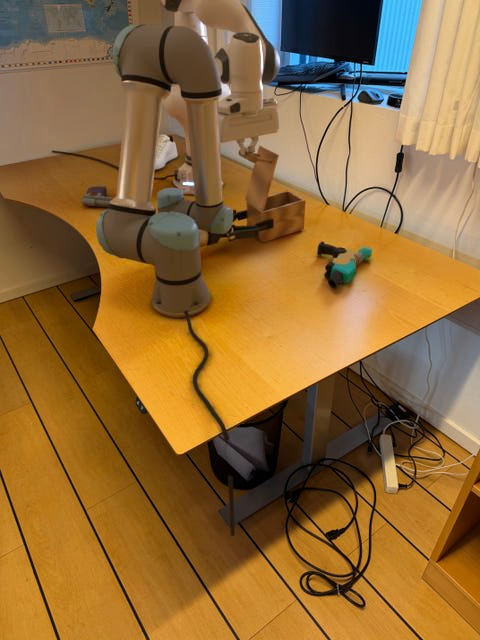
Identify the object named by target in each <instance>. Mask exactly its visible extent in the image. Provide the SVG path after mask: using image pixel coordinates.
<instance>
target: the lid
mask: <svg viewBox="0 0 480 640" xmlns="http://www.w3.org/2000/svg"><path fill="white" fill-rule="evenodd" d="M238 155H239V156H240V157H241V158H242V159H245V160H247V161H248V162H250V163H253V169H252V171H251V176H250V180H249V184H248V186H247V187H248V188H247V192H246V195H245V201H246V202H249V203H250V204H252V205H253V206H254V207H256V208H257V209H259V210H260V211H264V207H265V204H266V200H267V197H268V196H269V192H270V188H271V185H272V181H273V179H274V175H275V171H276V168H277V165H278V164H277V163H278V160H279V157H280V156H279V155H280V154H278V153H276V152H275V151H272V150H270V149H268V148H266V147H264V146H262V145H259V146H258V149H257V152H254V153H249V152H248V154H244V155H242V154H241V153H240V149H239V150H238Z"/></svg>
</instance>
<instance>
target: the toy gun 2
mask: <svg viewBox="0 0 480 640" xmlns="http://www.w3.org/2000/svg"><path fill="white" fill-rule="evenodd" d="M318 243H319V244H318V246H317V252H316V254H317V256H320V257H321V256H322V255H327V256H331V257H332V260H331V261H328V262H327V264H326V265H325V266H324V269H325V272H324V275H323V276H324V278H325V279H327V284H328V286H329V287H330V288H331V290H337V288H338V287H339V286H340V285H341V284H342V283H344V284H348V283H349V282H351V281H352V280H353V279H355V276H356V274H357V268H356V266H357V265H359V264H360V263H362V262H364V261H365V262H366V261H367V260H369V259H370V258H371V257H372V255H373V249H372V248H371V247H369V246H368V247H367V246H364V247H363V246H362V247H361V248H359V249H358V251H357V252H356V253H355V250H354V249H352V248H347V247H342V246H340V247H337V246H335V245H331V244H330V243H329V244H328V243H325V241H323V240H321V241H320V242H318Z"/></svg>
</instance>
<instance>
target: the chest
mask: <svg viewBox="0 0 480 640" xmlns="http://www.w3.org/2000/svg"><path fill="white" fill-rule="evenodd" d="M246 210H247V219H246V226H251V225H255V224H256V223H260V222H263V221H267V220H270V219H273V220H274V226H273V228H271V229H267V230H264V231H260V232H259V237H255V238H256V239H257V240H258V241H260V242H261V243H265V242H269V241H271V240H275V239H278V238H281V237H284V236H287V235H291V234H293V233H296V232H299V231H302V230H304V229H305V216H306V199H304V198H302V197H301V196H299V195H297V194H296V193H294V192H293V191H290V190H289V189H287V190H284V191H281V192H276V193H273V194H270V195H269V194H268V197H267V200H266V204H265V207H264V211H260V210H259V209H257V208H256V207H254V206H253V205H252V204H250V203H249V202H247V201H246Z"/></svg>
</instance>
